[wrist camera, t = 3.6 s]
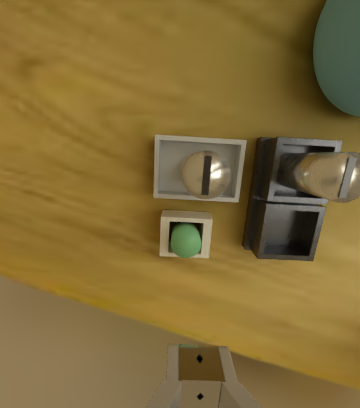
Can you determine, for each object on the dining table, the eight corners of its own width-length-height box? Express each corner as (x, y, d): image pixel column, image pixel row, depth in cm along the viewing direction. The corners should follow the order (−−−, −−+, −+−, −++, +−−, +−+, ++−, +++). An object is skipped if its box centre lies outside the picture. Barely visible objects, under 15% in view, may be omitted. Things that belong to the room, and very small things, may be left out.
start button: (172, 221, 24) (171, 228, 21) (200, 222, 24) (202, 230, 21) (170, 246, 25) (169, 257, 22) (197, 248, 25) (200, 258, 22)
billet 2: (276, 151, 23) (328, 150, 15) (310, 153, 23) (380, 153, 15) (271, 186, 24) (317, 201, 16) (303, 187, 24) (365, 204, 16)
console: (162, 209, 26) (160, 216, 23) (208, 212, 26) (212, 219, 23) (161, 244, 27) (159, 255, 24) (205, 247, 27) (208, 258, 24)
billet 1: (181, 150, 23) (183, 149, 16) (214, 152, 24) (233, 152, 16) (179, 184, 24) (180, 198, 17) (211, 185, 24) (227, 201, 17)
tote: (157, 136, 23) (155, 134, 21) (240, 141, 24) (246, 140, 21) (155, 194, 25) (153, 197, 23) (233, 198, 25) (238, 202, 23)
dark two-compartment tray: (257, 137, 24) (272, 135, 20) (323, 142, 24) (349, 139, 20) (242, 245, 27) (251, 259, 23) (299, 248, 27) (318, 262, 24)
